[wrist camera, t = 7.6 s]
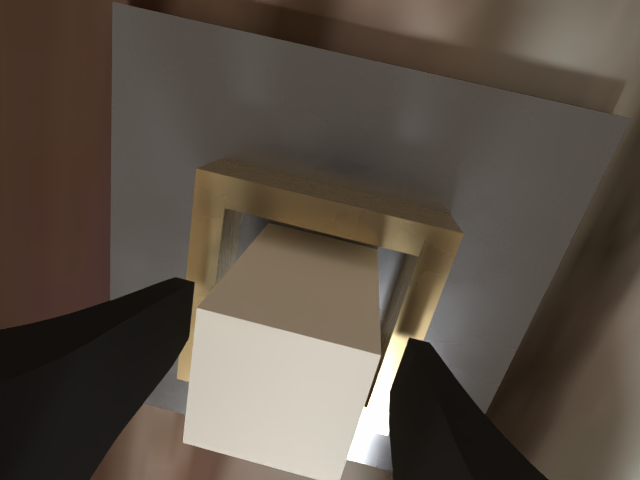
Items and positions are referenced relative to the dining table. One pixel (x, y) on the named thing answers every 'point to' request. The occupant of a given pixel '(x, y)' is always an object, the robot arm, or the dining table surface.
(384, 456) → the socket plate
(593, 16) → the dining table surface
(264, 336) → the cream block
